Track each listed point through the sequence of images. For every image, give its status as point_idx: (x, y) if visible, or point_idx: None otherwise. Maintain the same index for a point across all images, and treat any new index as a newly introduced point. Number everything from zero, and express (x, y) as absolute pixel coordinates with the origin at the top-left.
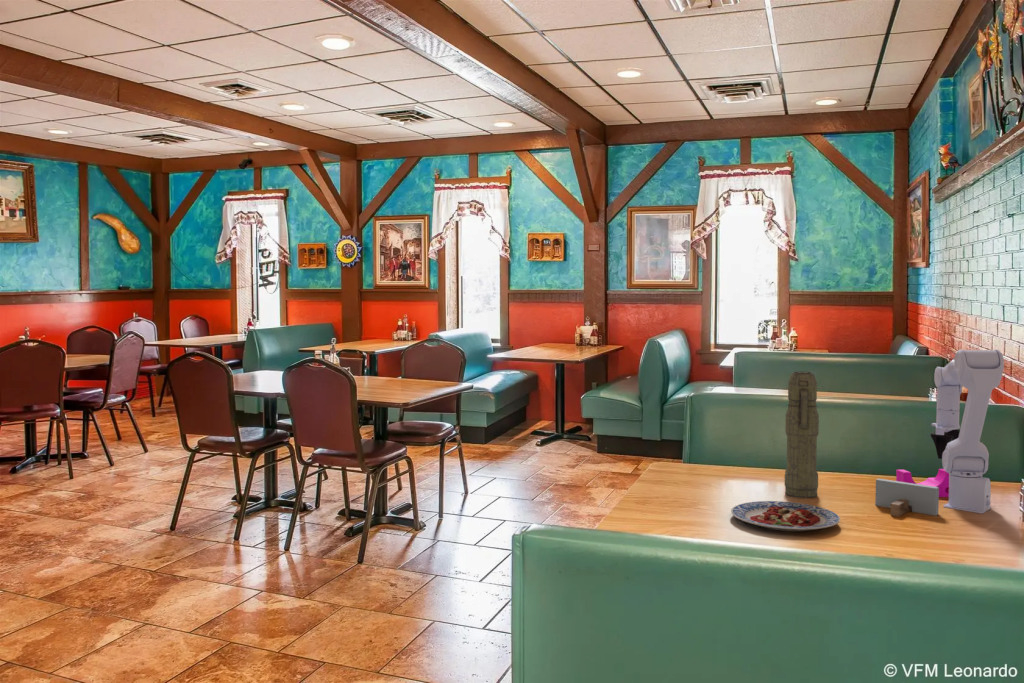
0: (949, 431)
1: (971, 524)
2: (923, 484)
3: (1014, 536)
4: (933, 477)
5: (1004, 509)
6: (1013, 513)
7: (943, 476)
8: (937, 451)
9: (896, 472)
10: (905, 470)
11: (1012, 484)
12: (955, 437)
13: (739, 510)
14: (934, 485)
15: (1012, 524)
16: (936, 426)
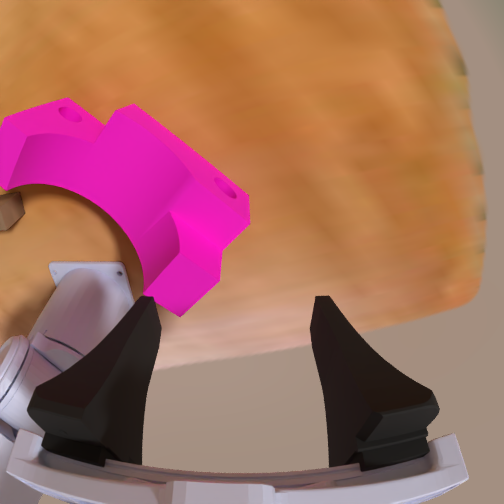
0: (352, 446)
1: (3, 327)
2: (144, 168)
3: None
4: (214, 195)
5: (157, 356)
6: None
7: (150, 266)
8: (119, 326)
9: (13, 114)
10: (16, 155)
11: (465, 303)
12: (332, 426)
13: None
14: (131, 220)
15: None
16: (55, 490)
